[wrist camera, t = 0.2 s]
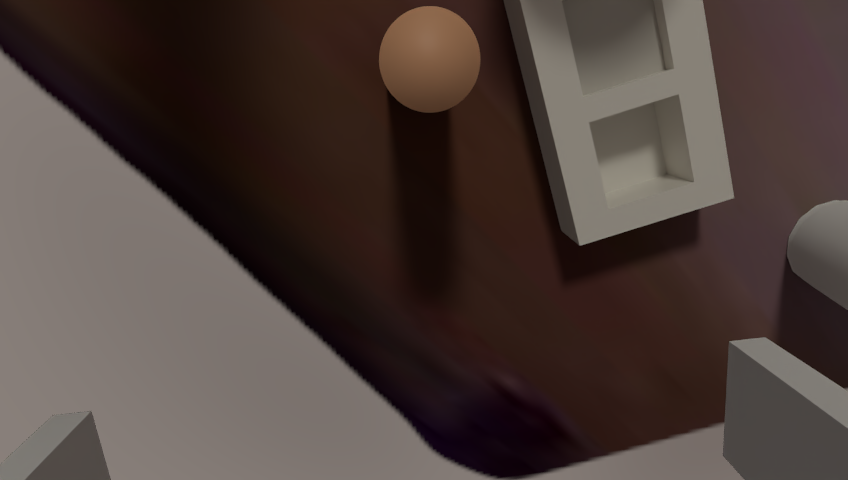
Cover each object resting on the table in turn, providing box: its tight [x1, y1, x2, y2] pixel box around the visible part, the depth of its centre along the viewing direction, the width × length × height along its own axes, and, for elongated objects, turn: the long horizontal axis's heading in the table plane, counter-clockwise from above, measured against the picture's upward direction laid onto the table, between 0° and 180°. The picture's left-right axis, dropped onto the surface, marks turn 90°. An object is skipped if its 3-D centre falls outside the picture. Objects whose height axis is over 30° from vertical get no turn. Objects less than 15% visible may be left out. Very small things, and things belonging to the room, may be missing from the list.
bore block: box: [503, 0, 734, 246], centre depth 34 cm, size 16×10×4 cm, turn 17°
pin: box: [379, 6, 480, 113], centre depth 28 cm, size 4×4×14 cm
